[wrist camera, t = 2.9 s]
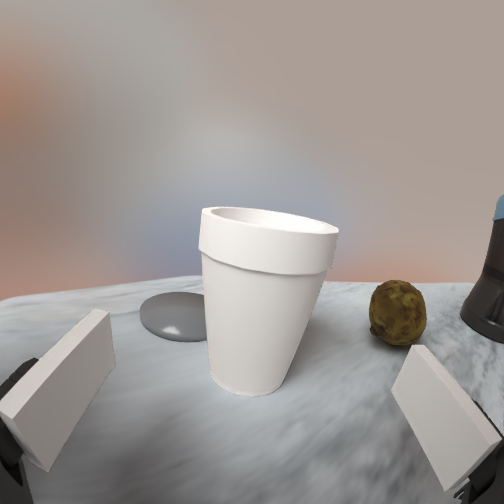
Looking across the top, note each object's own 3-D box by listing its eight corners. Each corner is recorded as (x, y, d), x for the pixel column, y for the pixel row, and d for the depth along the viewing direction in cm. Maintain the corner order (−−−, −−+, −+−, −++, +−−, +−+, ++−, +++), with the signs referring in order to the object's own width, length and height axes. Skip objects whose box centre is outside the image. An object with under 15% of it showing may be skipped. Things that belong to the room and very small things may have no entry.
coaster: (240, 310, 33) (241, 304, 33) (208, 353, 24) (208, 346, 24) (169, 291, 36) (169, 285, 35) (122, 321, 26) (121, 315, 26)
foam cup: (246, 332, 29) (263, 207, 25) (320, 373, 23) (358, 230, 19) (169, 363, 22) (173, 206, 18) (248, 430, 16) (284, 237, 12)
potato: (437, 341, 29) (458, 284, 27) (389, 375, 23) (418, 301, 21) (392, 316, 36) (408, 264, 34) (334, 337, 29) (351, 270, 27)
